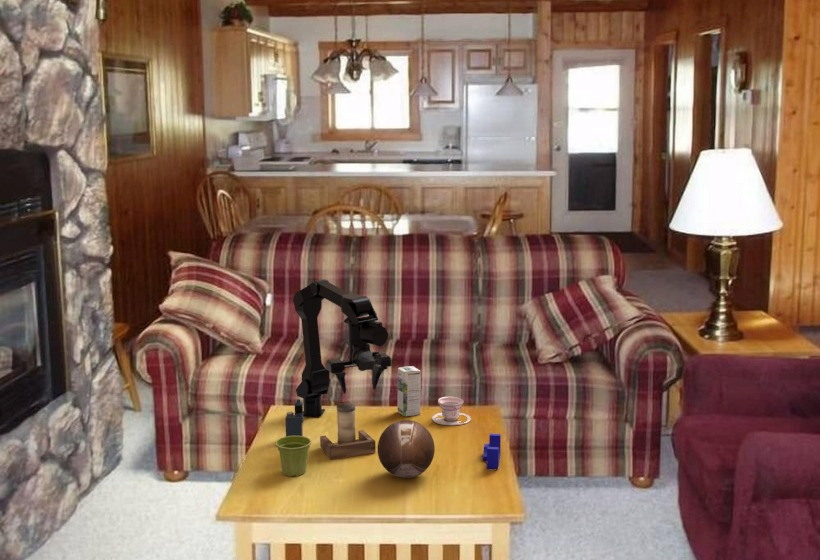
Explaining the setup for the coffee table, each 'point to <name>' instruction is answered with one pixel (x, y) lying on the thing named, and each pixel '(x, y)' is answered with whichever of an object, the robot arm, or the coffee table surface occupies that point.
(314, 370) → the robot arm
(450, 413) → the teacup
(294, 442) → the plant pot
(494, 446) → the blue stepped block
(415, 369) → the syrup box
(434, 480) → the coffee table surface
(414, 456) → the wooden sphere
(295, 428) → the vaping device
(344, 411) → the lidded tumbler
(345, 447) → the cradle
